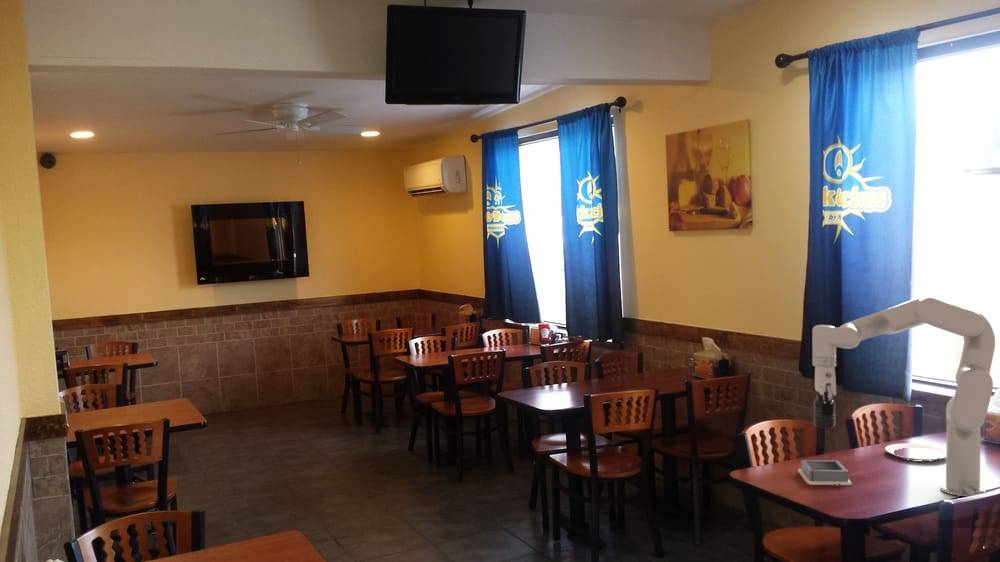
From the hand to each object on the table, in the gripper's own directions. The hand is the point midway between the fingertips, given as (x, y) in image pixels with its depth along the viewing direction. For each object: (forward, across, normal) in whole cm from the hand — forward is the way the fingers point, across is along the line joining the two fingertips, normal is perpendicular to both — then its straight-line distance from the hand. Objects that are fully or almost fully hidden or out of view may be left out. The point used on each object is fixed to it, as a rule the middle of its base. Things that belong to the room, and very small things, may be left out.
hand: (824, 412), depth 277 cm
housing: (+23, 0, 0) cm, 23 cm away
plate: (+24, +28, -40) cm, 54 cm away
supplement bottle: (+5, 0, 0) cm, 5 cm away
